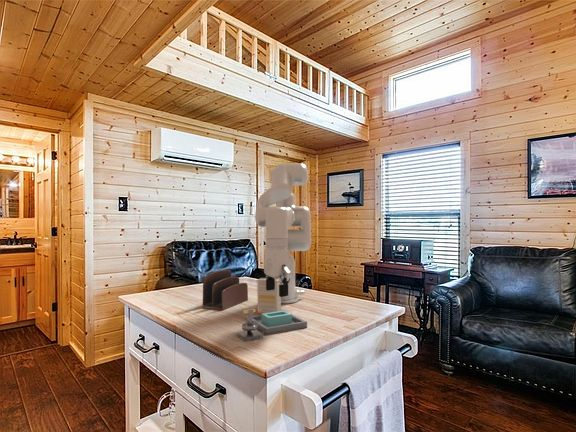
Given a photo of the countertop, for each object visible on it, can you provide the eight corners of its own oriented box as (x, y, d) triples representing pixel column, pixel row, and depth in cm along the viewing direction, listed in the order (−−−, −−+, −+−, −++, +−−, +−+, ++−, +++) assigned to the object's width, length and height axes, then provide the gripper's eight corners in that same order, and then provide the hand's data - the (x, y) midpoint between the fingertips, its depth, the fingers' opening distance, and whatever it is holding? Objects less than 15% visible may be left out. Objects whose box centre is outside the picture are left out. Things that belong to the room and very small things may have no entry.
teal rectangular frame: (268, 327, 107) (268, 317, 107) (261, 322, 112) (261, 313, 112) (295, 322, 112) (295, 313, 112) (286, 318, 117) (286, 310, 117)
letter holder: (201, 308, 134) (202, 273, 134) (229, 298, 152) (229, 267, 152) (222, 311, 130) (222, 275, 130) (248, 300, 148) (248, 269, 148)
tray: (285, 316, 122) (285, 311, 122) (307, 327, 109) (307, 321, 109) (247, 322, 115) (247, 316, 115) (266, 334, 102) (266, 328, 102)
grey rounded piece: (254, 332, 104) (255, 306, 104) (263, 337, 99) (263, 310, 99) (237, 335, 101) (237, 308, 101) (244, 341, 96) (244, 313, 96)
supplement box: (281, 312, 128) (281, 278, 128) (277, 315, 123) (277, 280, 123) (261, 310, 130) (262, 277, 131) (256, 313, 126) (257, 279, 126)
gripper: (256, 241, 118) (256, 289, 119) (278, 246, 103) (279, 300, 104) (274, 240, 122) (274, 286, 122) (299, 245, 107) (299, 297, 107)
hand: (276, 293), depth 113 cm, fingers open, 9 cm apart
